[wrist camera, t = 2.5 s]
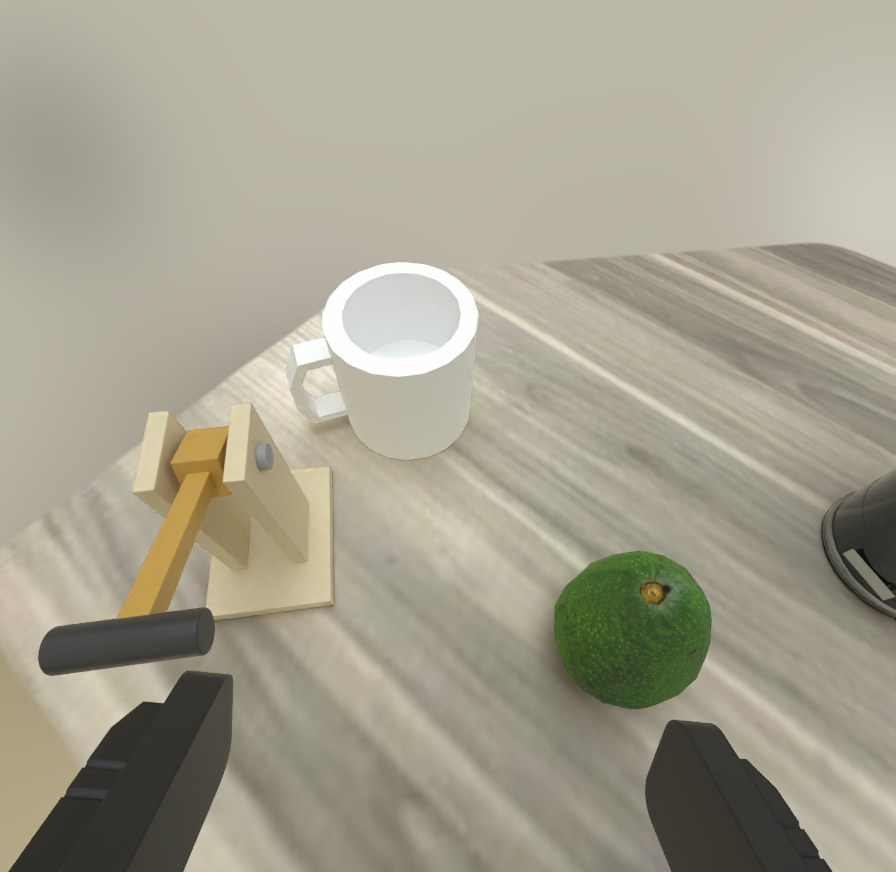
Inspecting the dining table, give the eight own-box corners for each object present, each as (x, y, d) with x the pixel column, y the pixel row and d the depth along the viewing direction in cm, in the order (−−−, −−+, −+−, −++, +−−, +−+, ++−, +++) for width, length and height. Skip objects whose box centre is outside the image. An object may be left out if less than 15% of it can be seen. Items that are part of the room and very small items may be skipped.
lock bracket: (334, 605, 33) (274, 534, 21) (211, 621, 33) (80, 557, 21) (332, 472, 38) (283, 356, 26) (226, 484, 38) (127, 370, 26)
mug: (322, 488, 38) (284, 410, 28) (298, 386, 42) (258, 291, 33) (488, 439, 40) (502, 352, 31) (447, 347, 45) (448, 249, 36)
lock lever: (211, 670, 17) (187, 630, 16) (60, 691, 17) (22, 651, 15) (270, 459, 27) (258, 422, 26) (176, 469, 27) (159, 432, 25)
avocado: (586, 558, 35) (646, 486, 25) (686, 639, 32) (800, 595, 22) (515, 648, 32) (551, 607, 22) (620, 745, 29) (717, 751, 19)
